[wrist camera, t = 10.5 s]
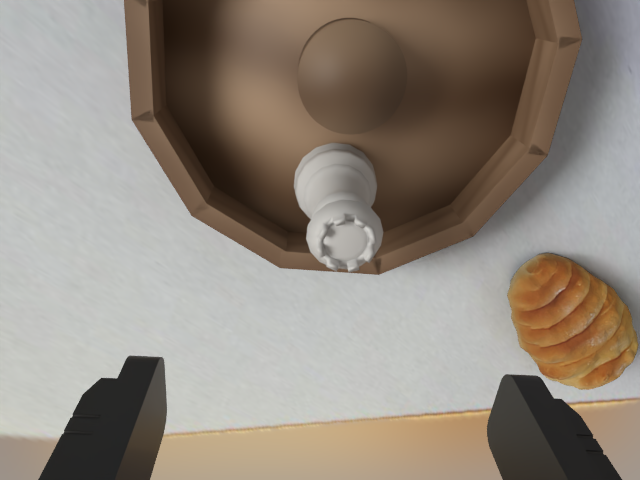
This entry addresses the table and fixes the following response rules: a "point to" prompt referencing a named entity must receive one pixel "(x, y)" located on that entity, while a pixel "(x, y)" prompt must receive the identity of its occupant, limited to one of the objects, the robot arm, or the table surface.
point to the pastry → (571, 322)
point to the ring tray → (412, 153)
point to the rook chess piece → (339, 205)
